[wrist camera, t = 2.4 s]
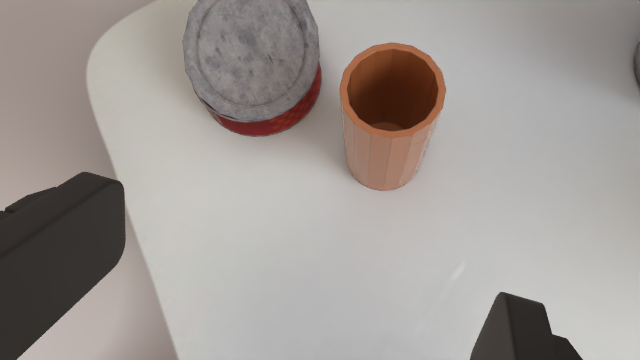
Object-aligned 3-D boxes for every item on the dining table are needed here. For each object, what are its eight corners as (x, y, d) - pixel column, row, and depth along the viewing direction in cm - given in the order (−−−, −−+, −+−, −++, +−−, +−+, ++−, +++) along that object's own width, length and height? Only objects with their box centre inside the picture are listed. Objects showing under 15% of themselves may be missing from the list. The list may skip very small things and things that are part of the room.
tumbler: (412, 115, 37) (432, 35, 26) (427, 184, 35) (455, 127, 25) (340, 127, 37) (332, 52, 27) (352, 196, 36) (349, 145, 25)
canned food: (326, 89, 43) (375, 62, 34) (245, 163, 41) (273, 157, 31) (241, -14, 41) (268, -74, 31) (149, 58, 38) (148, 17, 29)
